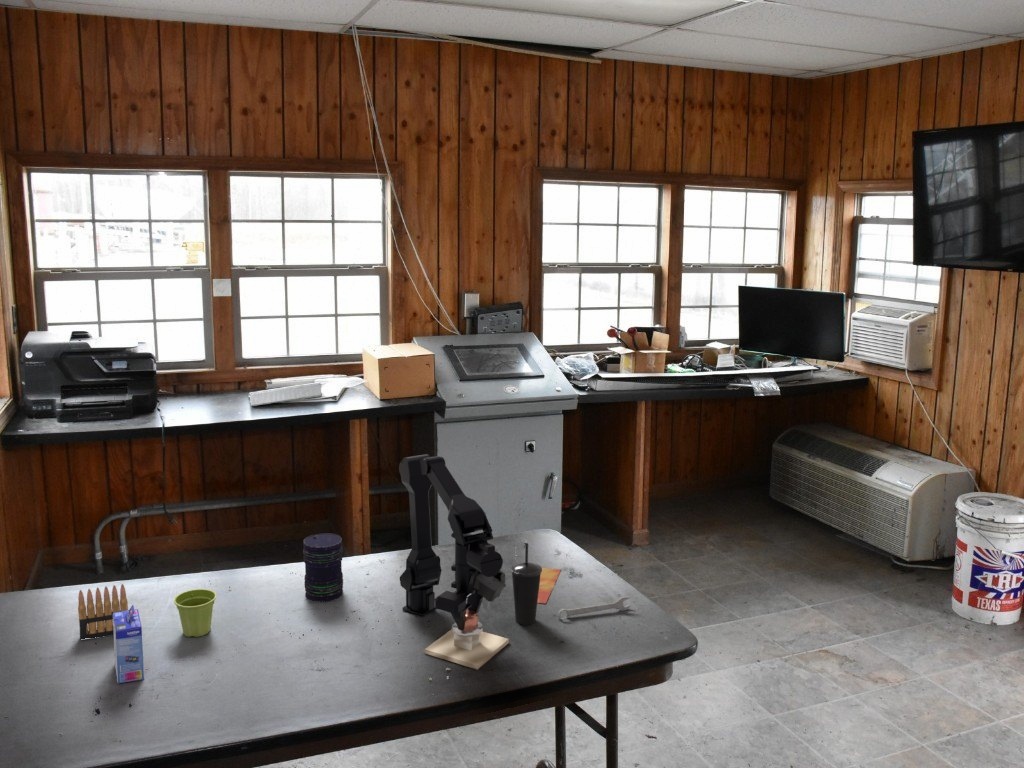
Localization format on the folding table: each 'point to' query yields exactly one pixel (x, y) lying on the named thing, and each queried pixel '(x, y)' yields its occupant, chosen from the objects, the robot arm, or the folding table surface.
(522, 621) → the drinking cup
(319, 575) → the storage jar
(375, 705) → the folding table surface
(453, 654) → the stand
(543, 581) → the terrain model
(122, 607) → the ammunition clip
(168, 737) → the folding table surface
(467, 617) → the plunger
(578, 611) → the combination wrench
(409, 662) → the folding table surface
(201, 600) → the plant pot
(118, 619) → the ink cartridge box
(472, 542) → the robot arm
